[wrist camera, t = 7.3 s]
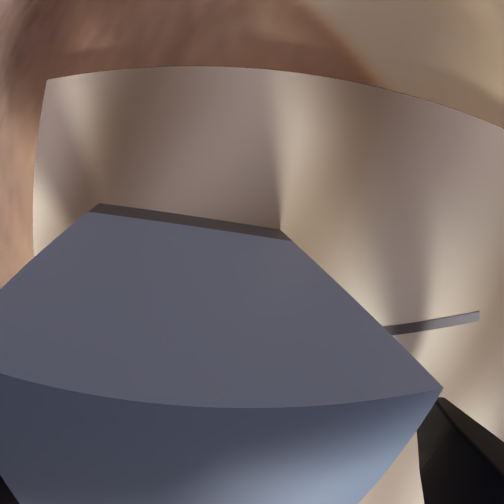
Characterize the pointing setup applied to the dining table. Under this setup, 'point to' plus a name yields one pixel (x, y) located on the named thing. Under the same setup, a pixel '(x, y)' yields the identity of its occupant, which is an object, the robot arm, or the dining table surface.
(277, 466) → the block
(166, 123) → the board
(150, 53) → the dining table surface
